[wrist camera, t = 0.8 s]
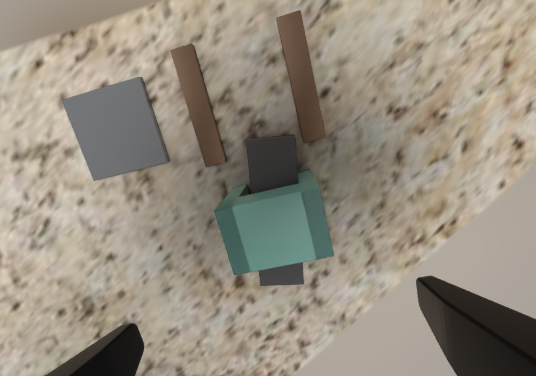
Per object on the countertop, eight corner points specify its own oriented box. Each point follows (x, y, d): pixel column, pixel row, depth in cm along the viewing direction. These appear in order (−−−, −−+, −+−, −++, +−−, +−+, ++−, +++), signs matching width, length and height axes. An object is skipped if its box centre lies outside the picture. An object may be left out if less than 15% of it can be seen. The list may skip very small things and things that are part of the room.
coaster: (97, 180, 21) (93, 181, 20) (66, 100, 19) (61, 100, 19) (169, 161, 20) (167, 162, 20) (142, 77, 19) (139, 76, 18)
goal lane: (207, 166, 20) (205, 167, 19) (173, 51, 18) (170, 50, 18) (325, 137, 19) (325, 137, 18) (299, 12, 17) (300, 10, 17)
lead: (264, 263, 22) (260, 285, 19) (252, 138, 19) (246, 140, 16) (301, 262, 21) (303, 284, 19) (294, 134, 19) (295, 136, 16)
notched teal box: (247, 236, 21) (234, 275, 16) (233, 187, 20) (214, 210, 15) (321, 220, 20) (334, 256, 15) (310, 169, 19) (319, 187, 14)
